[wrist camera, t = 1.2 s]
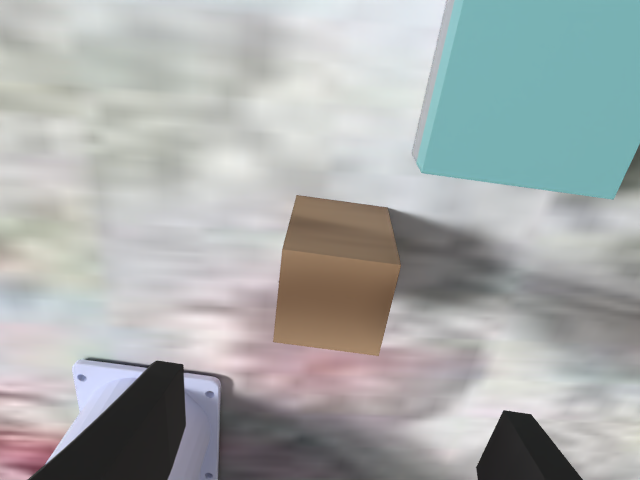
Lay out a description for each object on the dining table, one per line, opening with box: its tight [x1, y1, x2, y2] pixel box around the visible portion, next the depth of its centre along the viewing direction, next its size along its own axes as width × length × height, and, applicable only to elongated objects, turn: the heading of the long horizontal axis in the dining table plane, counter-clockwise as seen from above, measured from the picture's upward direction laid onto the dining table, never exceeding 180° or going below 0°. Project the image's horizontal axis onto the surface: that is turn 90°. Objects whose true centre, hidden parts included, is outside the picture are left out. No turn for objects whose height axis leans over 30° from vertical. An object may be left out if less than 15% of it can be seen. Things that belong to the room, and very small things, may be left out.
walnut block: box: [273, 195, 401, 356], centre depth 18 cm, size 4×4×5 cm
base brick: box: [412, 0, 640, 200], centre depth 15 cm, size 7×7×2 cm
